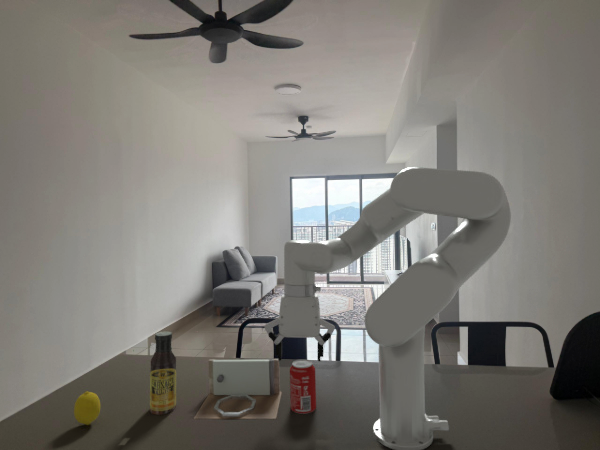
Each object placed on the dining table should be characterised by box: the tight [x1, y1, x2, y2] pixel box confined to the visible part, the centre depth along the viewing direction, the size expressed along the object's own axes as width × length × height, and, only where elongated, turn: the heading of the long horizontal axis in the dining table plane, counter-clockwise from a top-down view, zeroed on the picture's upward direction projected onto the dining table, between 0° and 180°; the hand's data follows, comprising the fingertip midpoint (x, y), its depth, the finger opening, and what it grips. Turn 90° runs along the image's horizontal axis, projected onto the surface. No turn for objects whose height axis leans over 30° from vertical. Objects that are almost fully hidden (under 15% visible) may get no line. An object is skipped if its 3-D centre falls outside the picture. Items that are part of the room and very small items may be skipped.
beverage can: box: [289, 358, 317, 415], centre depth 96 cm, size 6×6×12 cm
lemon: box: [73, 391, 102, 426], centre depth 93 cm, size 6×6×8 cm
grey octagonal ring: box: [214, 395, 256, 417], centre depth 97 cm, size 10×10×1 cm
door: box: [213, 358, 275, 395], centre depth 103 cm, size 16×2×9 cm, turn 87°
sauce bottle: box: [149, 330, 177, 415], centre depth 98 cm, size 6×6×20 cm
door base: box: [193, 358, 283, 420], centre depth 99 cm, size 20×14×10 cm
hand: (299, 358), depth 96 cm, fingers open, 9 cm apart
